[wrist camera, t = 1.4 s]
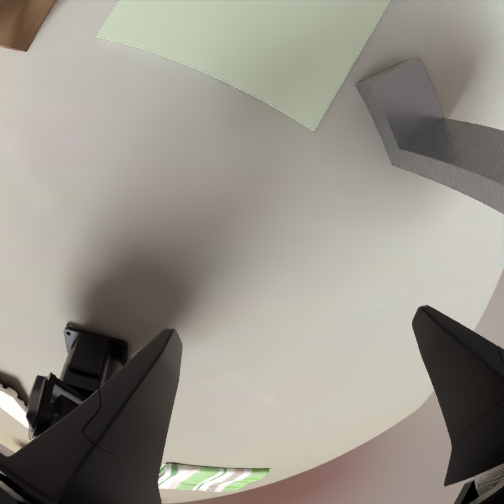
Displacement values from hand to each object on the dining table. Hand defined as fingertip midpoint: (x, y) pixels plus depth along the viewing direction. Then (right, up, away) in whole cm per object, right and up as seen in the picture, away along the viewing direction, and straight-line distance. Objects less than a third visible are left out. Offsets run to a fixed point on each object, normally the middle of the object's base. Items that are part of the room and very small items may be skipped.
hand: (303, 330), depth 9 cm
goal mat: (-1, +20, +2) cm, 20 cm away
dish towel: (-12, -46, +35) cm, 59 cm away
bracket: (+10, +14, +8) cm, 18 cm away
